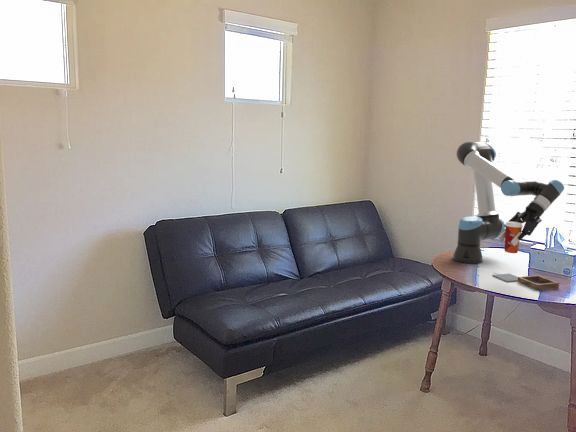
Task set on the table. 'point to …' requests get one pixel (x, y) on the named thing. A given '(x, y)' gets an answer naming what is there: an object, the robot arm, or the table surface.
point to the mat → (506, 277)
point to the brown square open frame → (547, 282)
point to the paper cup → (512, 236)
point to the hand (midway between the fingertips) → (506, 241)
